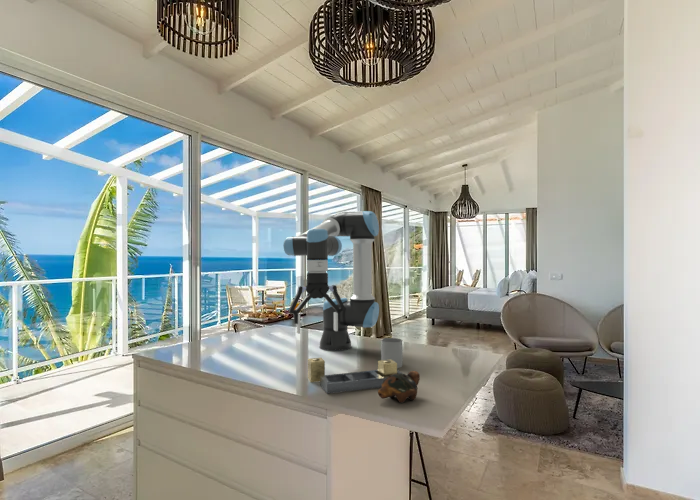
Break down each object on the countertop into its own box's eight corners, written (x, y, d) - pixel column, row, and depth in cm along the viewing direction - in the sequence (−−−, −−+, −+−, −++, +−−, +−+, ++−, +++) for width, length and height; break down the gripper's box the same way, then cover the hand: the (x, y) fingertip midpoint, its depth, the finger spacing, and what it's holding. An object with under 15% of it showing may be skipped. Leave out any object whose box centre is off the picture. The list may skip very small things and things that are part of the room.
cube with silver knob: (307, 378, 142) (307, 358, 142) (321, 376, 144) (321, 356, 144) (310, 382, 137) (310, 361, 137) (324, 381, 139) (324, 360, 139)
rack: (320, 384, 135) (320, 375, 135) (394, 376, 144) (394, 368, 144) (327, 393, 126) (327, 384, 126) (406, 384, 135) (406, 375, 135)
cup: (401, 368, 153) (401, 342, 153) (380, 367, 155) (380, 342, 155) (403, 362, 162) (402, 338, 162) (383, 361, 163) (382, 337, 163)
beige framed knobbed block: (378, 380, 139) (378, 359, 139) (391, 379, 141) (391, 358, 141) (383, 384, 134) (383, 363, 135) (397, 383, 136) (396, 362, 136)
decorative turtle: (429, 398, 122) (428, 372, 121) (392, 413, 113) (391, 385, 113) (407, 388, 130) (406, 364, 129) (371, 401, 121) (370, 375, 120)
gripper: (284, 273, 133) (284, 336, 133) (353, 272, 141) (353, 331, 141) (280, 272, 141) (280, 332, 140) (347, 271, 149) (347, 327, 148)
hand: (317, 331), depth 141 cm, fingers open, 13 cm apart
